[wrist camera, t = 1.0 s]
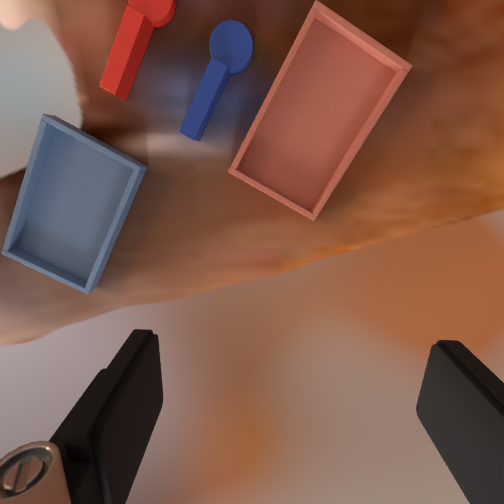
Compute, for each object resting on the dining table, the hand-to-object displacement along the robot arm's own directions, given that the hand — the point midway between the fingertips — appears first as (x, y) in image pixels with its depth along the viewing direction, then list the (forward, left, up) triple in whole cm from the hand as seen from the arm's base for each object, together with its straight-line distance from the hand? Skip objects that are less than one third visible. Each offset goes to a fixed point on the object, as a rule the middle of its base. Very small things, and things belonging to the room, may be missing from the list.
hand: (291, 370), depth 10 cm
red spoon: (-9, -19, -24) cm, 32 cm away
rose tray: (-11, -1, -24) cm, 27 cm away
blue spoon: (-9, -11, -24) cm, 28 cm away
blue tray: (+9, -19, -24) cm, 32 cm away
